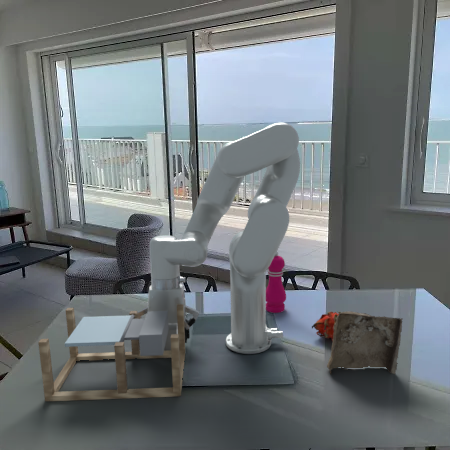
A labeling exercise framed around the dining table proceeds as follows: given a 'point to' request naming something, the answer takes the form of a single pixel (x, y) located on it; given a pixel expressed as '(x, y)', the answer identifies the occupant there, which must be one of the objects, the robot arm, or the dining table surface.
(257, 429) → the dining table surface
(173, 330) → the light grey block
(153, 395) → the frame
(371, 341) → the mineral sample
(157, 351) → the trapdoor
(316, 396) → the dining table surface
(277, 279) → the pepper mill
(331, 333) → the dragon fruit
